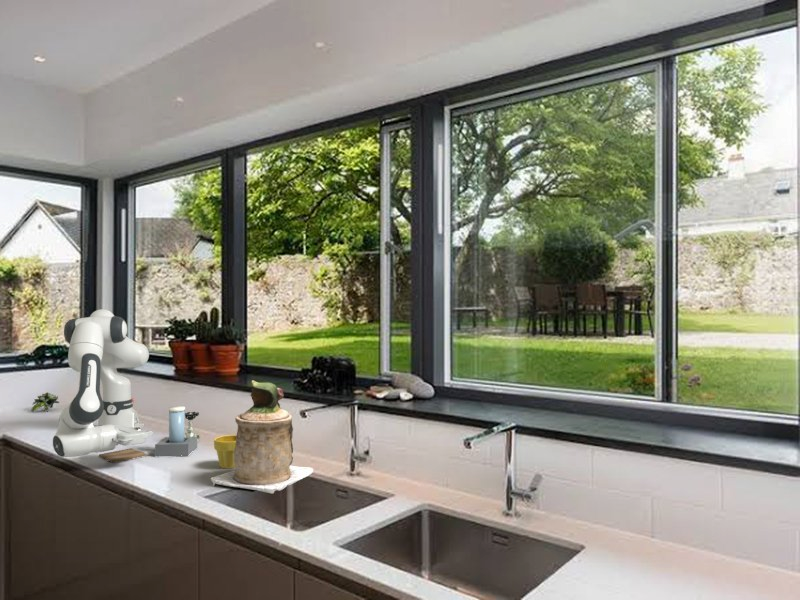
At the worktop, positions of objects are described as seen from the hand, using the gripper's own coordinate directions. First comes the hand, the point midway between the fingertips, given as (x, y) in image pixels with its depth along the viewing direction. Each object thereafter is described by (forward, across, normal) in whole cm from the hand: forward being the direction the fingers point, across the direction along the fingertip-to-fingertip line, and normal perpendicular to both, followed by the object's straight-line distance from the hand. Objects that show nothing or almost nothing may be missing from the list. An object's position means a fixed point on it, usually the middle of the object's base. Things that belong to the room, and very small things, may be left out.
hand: (145, 431), depth 218 cm
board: (-4, +9, +10) cm, 14 cm away
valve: (+23, +10, +10) cm, 27 cm away
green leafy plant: (+10, +129, +10) cm, 130 cm away
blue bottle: (+12, 0, +10) cm, 16 cm away
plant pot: (+15, -31, +10) cm, 36 cm away
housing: (+12, 0, +10) cm, 16 cm away
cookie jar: (+14, -52, +10) cm, 55 cm away
